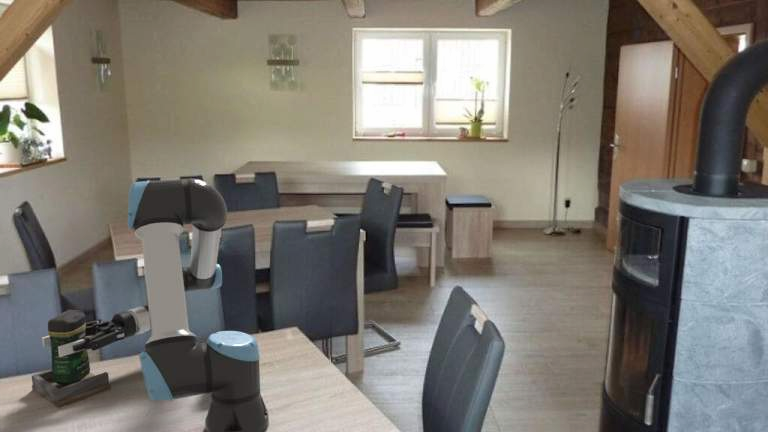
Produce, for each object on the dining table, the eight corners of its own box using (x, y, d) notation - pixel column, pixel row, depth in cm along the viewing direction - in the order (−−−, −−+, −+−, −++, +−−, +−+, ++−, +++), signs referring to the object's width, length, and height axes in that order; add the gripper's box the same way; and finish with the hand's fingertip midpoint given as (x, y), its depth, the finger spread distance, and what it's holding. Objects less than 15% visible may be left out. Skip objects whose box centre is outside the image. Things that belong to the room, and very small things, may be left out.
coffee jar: (76, 387, 171) (69, 320, 168) (47, 385, 172) (40, 319, 168) (95, 370, 181) (89, 307, 177) (69, 369, 182) (62, 306, 178)
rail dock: (110, 389, 177) (109, 373, 176) (58, 408, 167) (56, 392, 166) (83, 372, 187) (81, 358, 186) (32, 390, 176) (30, 375, 175)
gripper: (151, 344, 182) (71, 371, 165) (112, 326, 195) (34, 349, 178) (150, 319, 181) (68, 344, 163) (110, 302, 194) (31, 324, 177)
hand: (51, 347), depth 171 cm, fingers closed on coffee jar, 9 cm apart
